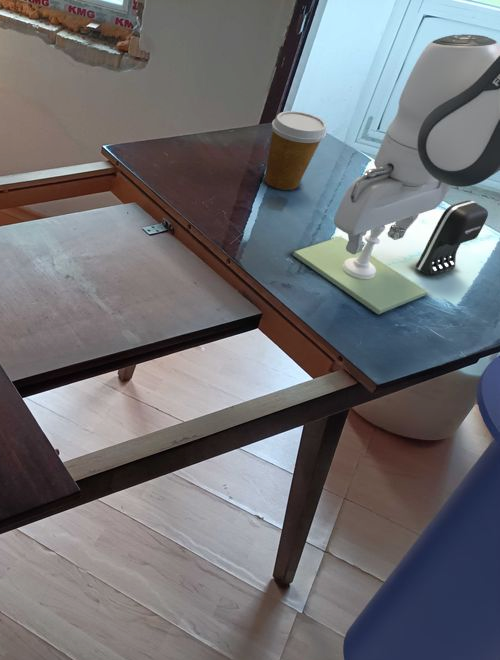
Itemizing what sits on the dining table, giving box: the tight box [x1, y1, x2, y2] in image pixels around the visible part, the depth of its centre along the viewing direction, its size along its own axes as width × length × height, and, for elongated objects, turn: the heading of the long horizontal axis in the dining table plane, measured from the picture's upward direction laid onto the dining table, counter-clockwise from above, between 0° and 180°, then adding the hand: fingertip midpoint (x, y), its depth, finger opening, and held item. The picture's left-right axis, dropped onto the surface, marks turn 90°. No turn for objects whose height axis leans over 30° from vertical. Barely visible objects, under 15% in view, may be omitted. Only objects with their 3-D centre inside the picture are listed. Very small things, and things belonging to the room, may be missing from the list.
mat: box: [292, 236, 428, 315], centre depth 107 cm, size 17×11×1 cm, turn 30°
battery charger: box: [415, 200, 489, 277], centre depth 106 cm, size 7×4×11 cm, turn 118°
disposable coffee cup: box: [263, 110, 327, 191], centre depth 126 cm, size 10×10×12 cm
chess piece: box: [342, 225, 386, 279], centre depth 104 cm, size 5×5×10 cm
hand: (374, 244), depth 104 cm, fingers open, 8 cm apart
